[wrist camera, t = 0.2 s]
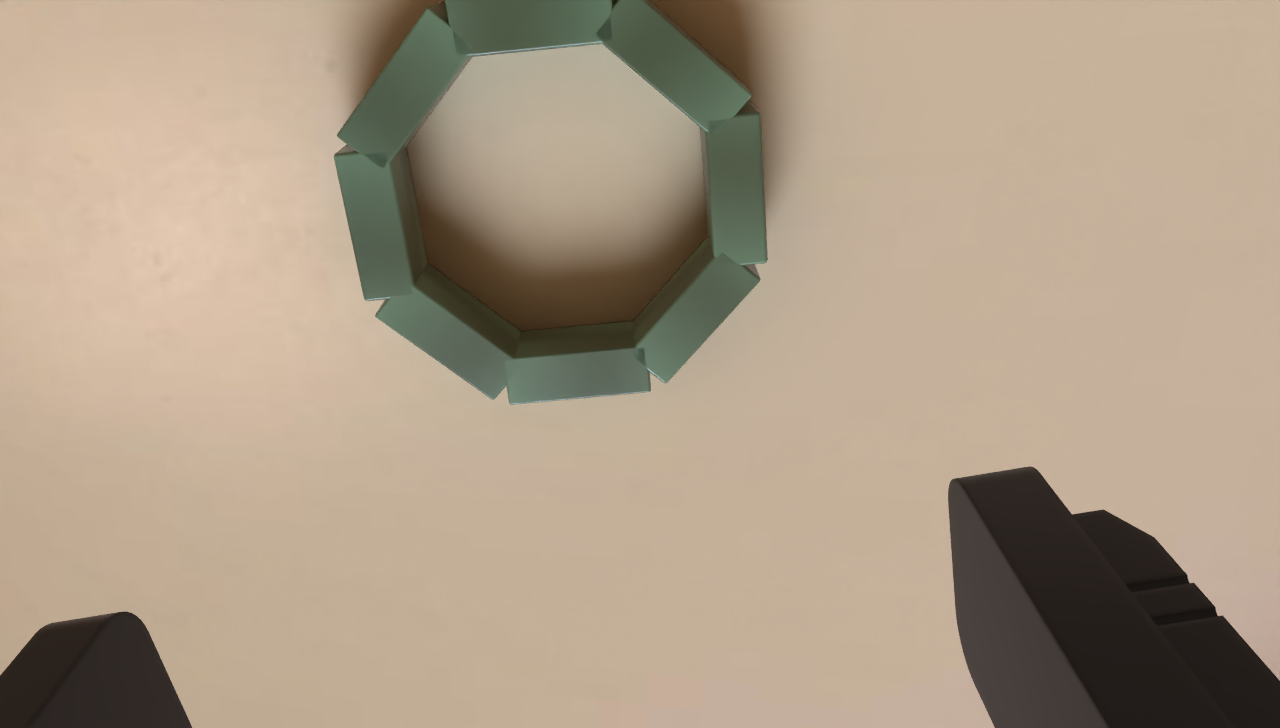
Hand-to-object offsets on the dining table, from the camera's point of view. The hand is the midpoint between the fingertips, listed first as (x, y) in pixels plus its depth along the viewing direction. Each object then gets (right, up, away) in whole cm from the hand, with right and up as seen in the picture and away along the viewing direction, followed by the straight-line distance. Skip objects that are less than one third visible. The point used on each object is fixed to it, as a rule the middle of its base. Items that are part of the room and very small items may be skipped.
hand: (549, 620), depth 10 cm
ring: (-1, +7, +18) cm, 19 cm away
